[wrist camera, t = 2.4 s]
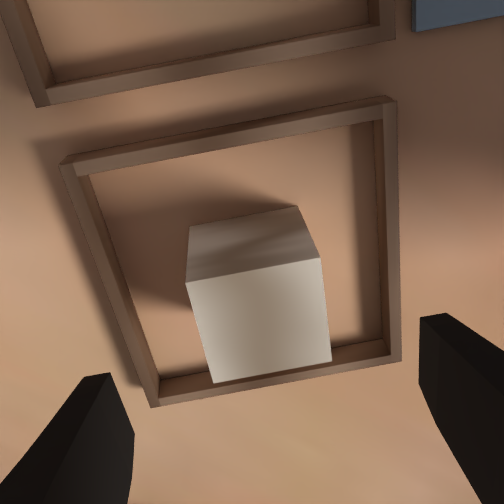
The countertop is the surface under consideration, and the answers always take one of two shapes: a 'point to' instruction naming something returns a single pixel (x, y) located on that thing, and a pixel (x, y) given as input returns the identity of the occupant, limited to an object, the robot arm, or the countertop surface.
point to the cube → (257, 294)
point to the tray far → (226, 137)
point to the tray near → (49, 93)
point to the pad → (452, 12)
